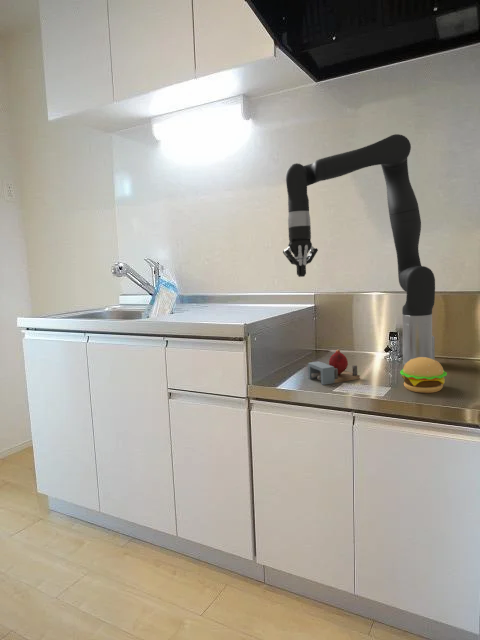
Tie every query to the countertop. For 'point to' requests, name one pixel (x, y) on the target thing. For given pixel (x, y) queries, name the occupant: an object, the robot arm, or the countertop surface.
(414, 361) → the hamburger
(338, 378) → the pin seat
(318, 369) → the housing
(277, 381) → the countertop surface
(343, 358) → the onion
